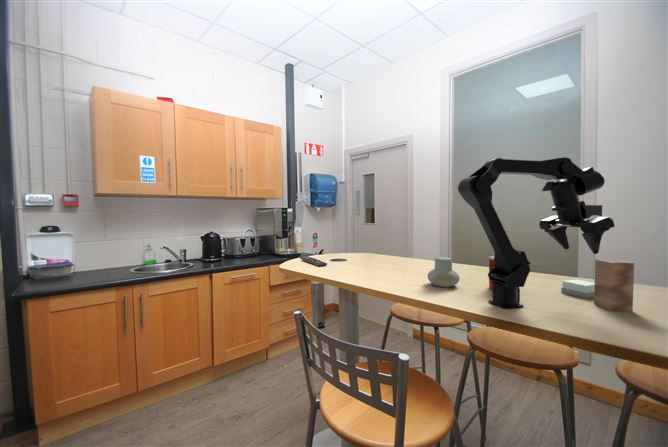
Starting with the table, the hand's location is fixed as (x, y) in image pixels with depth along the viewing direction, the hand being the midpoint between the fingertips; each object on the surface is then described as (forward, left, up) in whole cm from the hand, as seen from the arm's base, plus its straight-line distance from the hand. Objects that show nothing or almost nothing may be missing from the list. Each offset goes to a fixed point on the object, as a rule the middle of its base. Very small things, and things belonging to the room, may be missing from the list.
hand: (580, 251), depth 85 cm
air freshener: (-27, +28, -15) cm, 41 cm away
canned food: (-11, +18, -15) cm, 26 cm away
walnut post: (+3, -6, -15) cm, 17 cm away
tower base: (+8, +6, -16) cm, 19 cm away
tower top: (+8, +6, -14) cm, 17 cm away
